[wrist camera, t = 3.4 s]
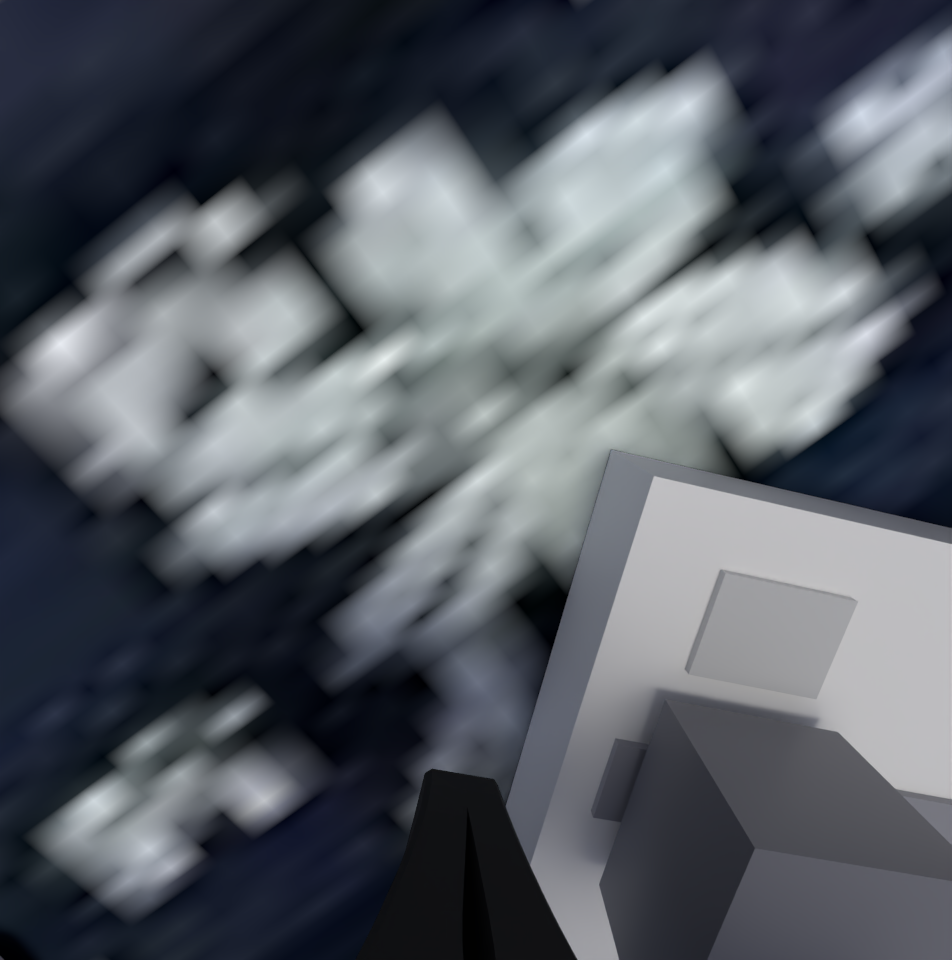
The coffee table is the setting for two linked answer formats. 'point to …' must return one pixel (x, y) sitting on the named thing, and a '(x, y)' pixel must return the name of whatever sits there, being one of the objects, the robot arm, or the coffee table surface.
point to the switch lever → (771, 850)
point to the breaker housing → (729, 654)
